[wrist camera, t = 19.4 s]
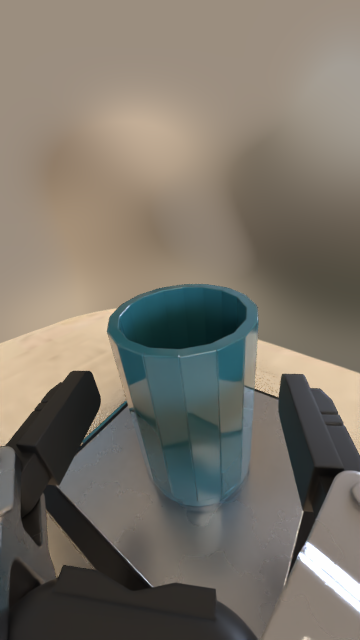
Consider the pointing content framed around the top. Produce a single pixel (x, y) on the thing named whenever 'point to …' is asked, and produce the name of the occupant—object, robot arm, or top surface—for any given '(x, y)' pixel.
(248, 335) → the cup
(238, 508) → the scale
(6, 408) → the top surface
